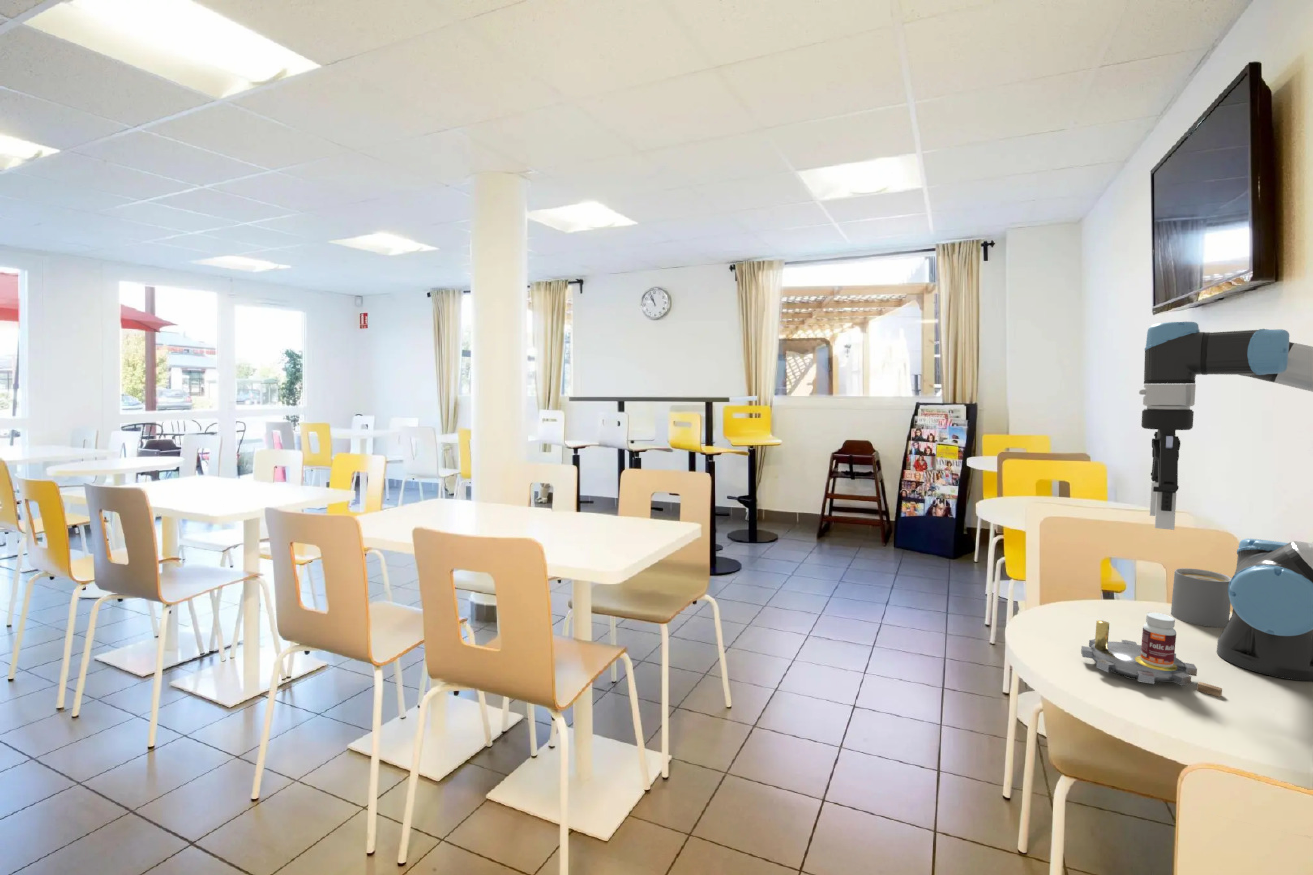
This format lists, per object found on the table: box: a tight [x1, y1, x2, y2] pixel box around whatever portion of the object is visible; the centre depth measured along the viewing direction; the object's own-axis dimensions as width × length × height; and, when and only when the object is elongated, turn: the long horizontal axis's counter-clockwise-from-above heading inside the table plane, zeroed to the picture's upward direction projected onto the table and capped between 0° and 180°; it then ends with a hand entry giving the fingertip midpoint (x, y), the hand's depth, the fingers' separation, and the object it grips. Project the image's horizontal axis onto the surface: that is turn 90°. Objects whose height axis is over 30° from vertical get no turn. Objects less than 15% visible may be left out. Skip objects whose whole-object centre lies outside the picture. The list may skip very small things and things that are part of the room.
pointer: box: [1196, 681, 1223, 698], centre depth 112 cm, size 3×1×1 cm, turn 38°
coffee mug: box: [1170, 567, 1232, 628], centre depth 148 cm, size 13×10×10 cm
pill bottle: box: [1140, 612, 1177, 668], centre depth 118 cm, size 5×5×8 cm
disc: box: [1080, 620, 1198, 686], centre depth 120 cm, size 17×17×6 cm
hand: (1161, 522), depth 124 cm, fingers open, 13 cm apart
